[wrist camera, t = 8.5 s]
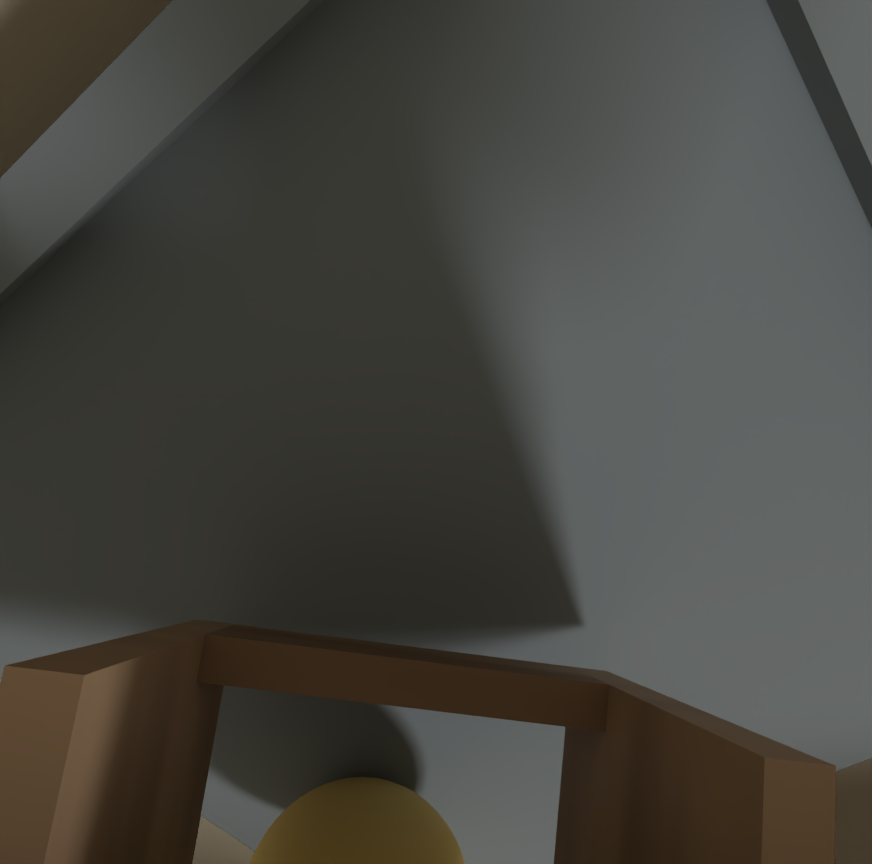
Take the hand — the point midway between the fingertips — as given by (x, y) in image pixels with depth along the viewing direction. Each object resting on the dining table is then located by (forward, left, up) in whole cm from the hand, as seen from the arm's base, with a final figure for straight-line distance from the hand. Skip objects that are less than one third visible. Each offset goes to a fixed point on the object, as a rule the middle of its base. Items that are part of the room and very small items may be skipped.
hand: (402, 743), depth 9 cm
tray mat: (+1, 0, -4) cm, 4 cm away
